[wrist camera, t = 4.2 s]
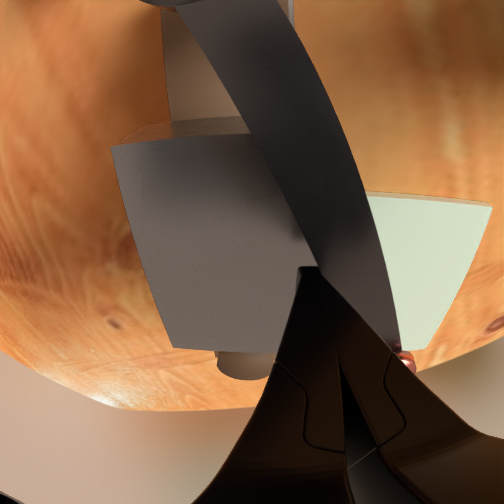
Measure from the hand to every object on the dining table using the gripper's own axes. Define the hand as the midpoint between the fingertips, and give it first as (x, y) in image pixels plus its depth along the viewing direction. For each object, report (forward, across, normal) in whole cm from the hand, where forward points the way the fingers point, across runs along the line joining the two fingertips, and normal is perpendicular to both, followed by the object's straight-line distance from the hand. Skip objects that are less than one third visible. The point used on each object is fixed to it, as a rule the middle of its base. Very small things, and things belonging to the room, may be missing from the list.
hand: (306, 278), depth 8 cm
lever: (0, -1, -2) cm, 2 cm away
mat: (+7, -7, +8) cm, 13 cm away
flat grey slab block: (+4, +2, +1) cm, 4 cm away
